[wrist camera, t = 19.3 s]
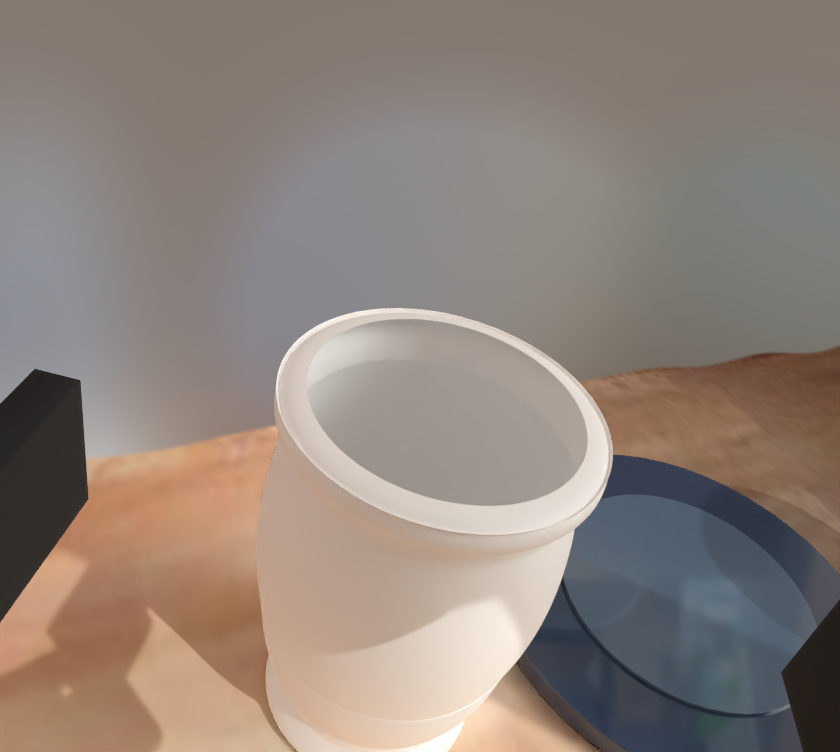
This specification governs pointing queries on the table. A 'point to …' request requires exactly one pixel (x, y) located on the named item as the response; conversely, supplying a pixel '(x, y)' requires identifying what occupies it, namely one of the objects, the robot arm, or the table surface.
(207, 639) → the table surface
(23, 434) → the robot arm
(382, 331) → the jar
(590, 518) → the plate
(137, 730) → the table surface
